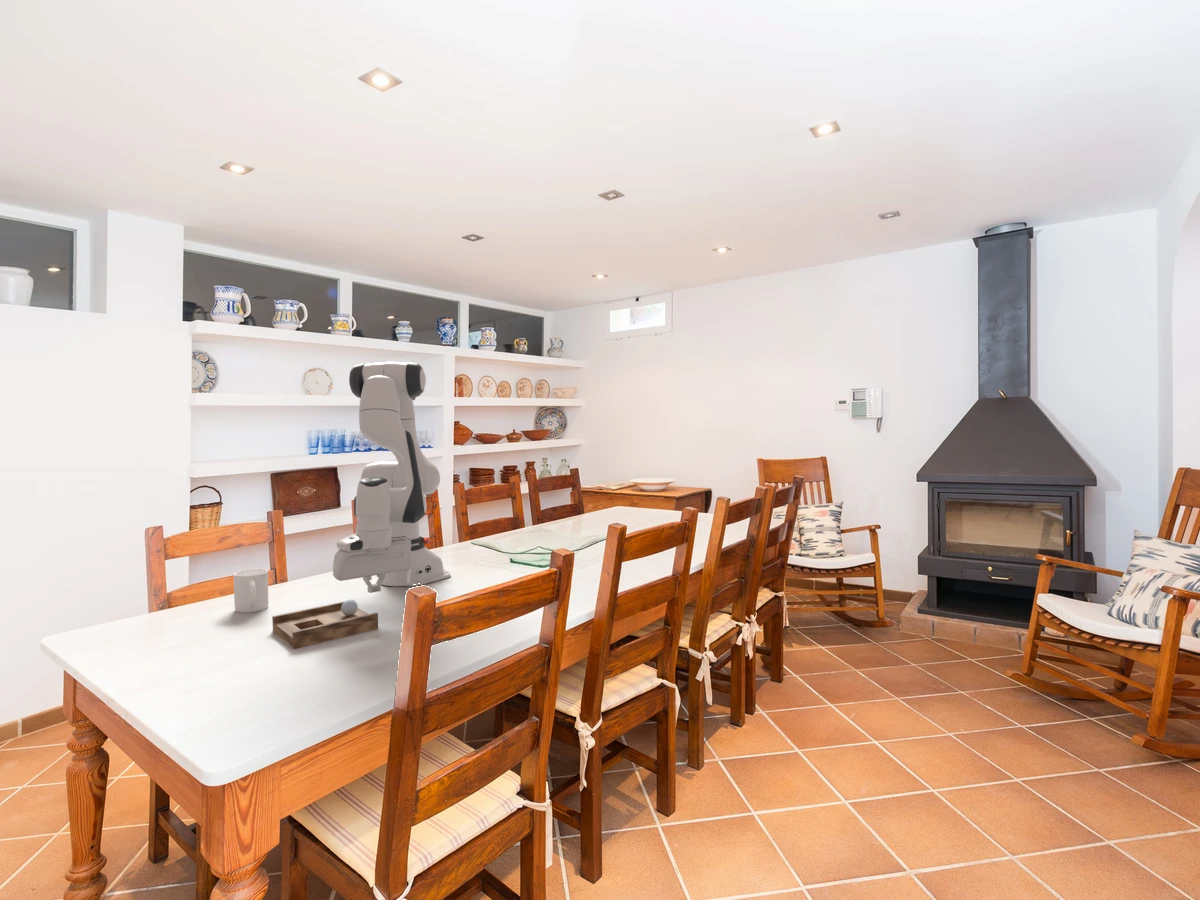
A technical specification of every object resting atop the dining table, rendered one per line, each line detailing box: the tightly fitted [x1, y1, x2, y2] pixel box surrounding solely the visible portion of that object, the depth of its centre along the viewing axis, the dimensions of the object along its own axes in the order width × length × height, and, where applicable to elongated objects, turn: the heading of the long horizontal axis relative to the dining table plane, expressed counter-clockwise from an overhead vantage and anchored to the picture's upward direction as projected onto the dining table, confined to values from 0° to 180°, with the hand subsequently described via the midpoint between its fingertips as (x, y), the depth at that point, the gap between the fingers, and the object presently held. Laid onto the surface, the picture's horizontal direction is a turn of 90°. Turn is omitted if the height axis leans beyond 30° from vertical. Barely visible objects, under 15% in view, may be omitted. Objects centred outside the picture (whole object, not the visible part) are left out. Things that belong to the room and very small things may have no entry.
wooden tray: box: [271, 600, 379, 650], centre depth 155 cm, size 20×16×4 cm
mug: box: [233, 568, 270, 614], centre depth 170 cm, size 12×8×10 cm
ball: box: [341, 599, 359, 616], centre depth 159 cm, size 4×4×4 cm
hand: (374, 591), depth 163 cm, fingers closed
